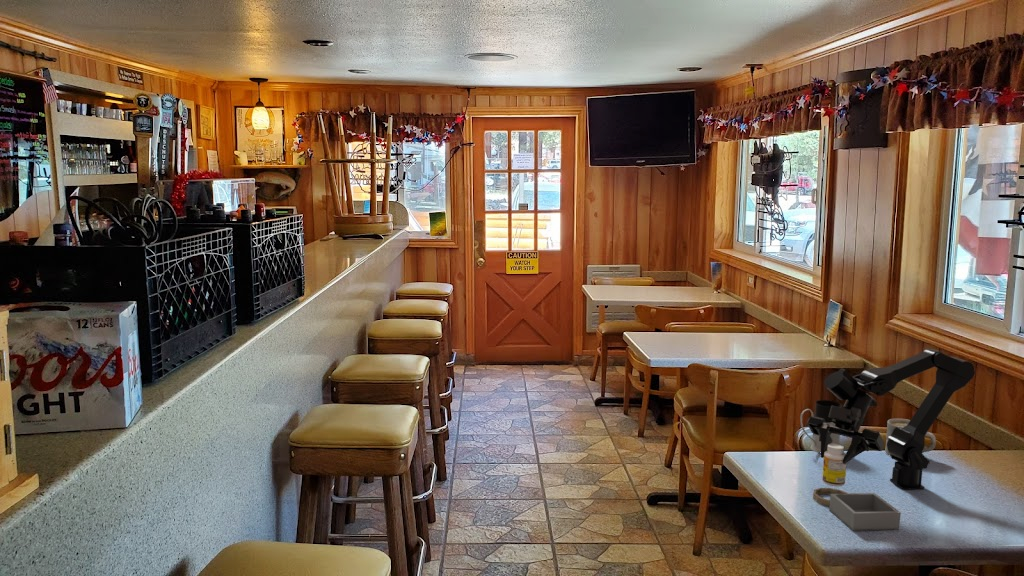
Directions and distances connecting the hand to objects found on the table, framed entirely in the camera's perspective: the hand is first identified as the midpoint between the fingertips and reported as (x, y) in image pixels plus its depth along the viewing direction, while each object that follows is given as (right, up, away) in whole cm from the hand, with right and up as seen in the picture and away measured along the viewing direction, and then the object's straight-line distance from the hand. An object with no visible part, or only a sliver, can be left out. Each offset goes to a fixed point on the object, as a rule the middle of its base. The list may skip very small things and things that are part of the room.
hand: (832, 460), depth 197 cm
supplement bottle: (+1, -7, +2) cm, 7 cm away
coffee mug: (+39, -7, +36) cm, 53 cm away
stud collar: (+1, -11, +2) cm, 11 cm away
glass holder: (+12, -6, +40) cm, 42 cm away
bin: (+4, -13, -9) cm, 16 cm away
